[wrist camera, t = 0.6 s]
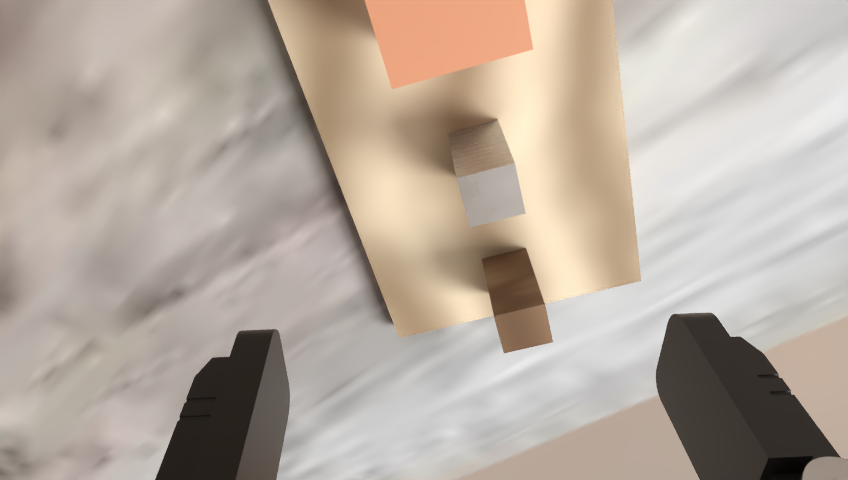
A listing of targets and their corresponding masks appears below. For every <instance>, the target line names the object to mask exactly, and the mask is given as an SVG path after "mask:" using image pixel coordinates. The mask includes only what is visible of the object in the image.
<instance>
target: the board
mask: <svg viewBox="0 0 848 480" xmlns="http://www.w3.org/2000/svg"><path fill="white" fill-rule="evenodd" d="M268 2H269V5H270V7H271V10H272V12H273V15H274V18H275V20H276V23H277V25H278V28H279V30H280V33H281V36H282V38H283V41H284V43H285V46H286V48H287V51H288V54H289V56H290V59H291V61H292V64H293V66H294V69H295V72H296V74H297V77H298V79H299V82H300V84H301V87H302V90H303V92H304V95H305V97H306V100H307V102H308V105H309V108H310V110H311V113H312V115H313V118H314V120H315V123H316V126H317V128H318V131H319V133H320V136H321V138H322V141H323V144H324V146H325V149H326V151H327V154H328V156H329V159H330V162H331V164H332V167H333V169H334V172H335V174H336V177H337V179H338V182H339V185H340V187H341V190H342V192H343V195H344V197H345V200H346V203H347V205H348V208H349V210H350V213H351V215H352V218H353V221H354V223H355V226H356V228H357V231H358V233H359V236H360V239H361V241H362V244H363V246H364V249H365V251H366V254H367V257H368V259H369V262H370V264H371V267H372V269H373V272H374V275H375V277H376V280H377V282H378V285H379V287H380V290H381V293H382V295H383V298H384V300H385V303H386V305H387V308H388V311H389V313H390V316H391V318H392V321H393V323H394V326H395V329H396V331H397V334H398V336H399V338H401V337H405V336H410V335H414V334H418V333H422V332H427V331H431V330H435V329H439V328H443V327H448V326H452V325H456V324H460V323H465V322H469V321H473V320H477V319H481V318H486V317H490V316H494V314H493V310H492V305H491V300H490V296H489V291H488V286H487V282H486V277H485V273H484V268H483V263H482V259H483V258H487V257H491V256H495V255H499V254H503V253H507V252H511V251H515V250H519V249H523V248H526V249H527V252H528V255H529V258H530V261H531V264H532V267H533V270H534V273H535V276H536V279H537V282H538V285H539V288H540V291H541V294H542V297H543V300H544V303H549V302H553V301H557V300H562V299H566V298H570V297H574V296H579V295H583V294H587V293H591V292H596V291H600V290H604V289H608V288H612V287H617V286H621V285H625V284H629V283H634V282H638V281H641V276H640V266H639V256H638V246H637V237H636V227H635V217H634V207H633V198H632V188H631V178H630V168H629V159H628V149H627V139H626V129H625V120H624V110H623V100H622V90H621V80H620V71H619V61H618V51H617V41H616V32H615V22H614V12H613V2H612V0H525V5H526V11H527V16H528V22H529V28H530V33H531V39H532V45H533V50H530V51H526V52H522V53H519V54H515V55H512V56H508V57H505V58H501V59H498V60H494V61H491V62H487V63H483V64H480V65H476V66H473V67H469V68H466V69H462V70H459V71H455V72H452V73H448V74H444V75H441V76H437V77H434V78H430V79H427V80H423V81H420V82H416V83H412V84H409V85H405V86H402V87H398V88H395V89H392V88H391V84H390V81H389V78H388V75H387V71H386V68H385V65H384V62H383V58H382V55H381V52H380V49H379V45H378V42H377V39H376V36H375V32H374V29H373V26H372V23H371V20H370V16H369V13H368V10H367V7H366V3H365V0H268ZM497 119H498V121H499V124H500V126H501V129H502V131H503V134H504V136H505V139H506V141H507V144H508V147H509V149H510V152H511V154H512V157H513V159H514V162H515V166H516V170H517V175H518V180H519V184H520V189H521V194H522V199H523V203H524V208H525V213H526V214H522V215H518V216H514V217H510V218H506V219H502V220H498V221H494V222H490V223H486V224H482V225H478V226H474V227H469V223H468V219H467V216H466V212H465V208H464V205H463V201H462V197H461V194H460V190H459V186H458V183H457V179H456V174H455V169H454V163H453V158H452V153H451V148H450V143H449V137H448V133H449V132H453V131H456V130H460V129H464V128H467V127H471V126H475V125H478V124H482V123H486V122H489V121H493V120H497Z"/></svg>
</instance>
